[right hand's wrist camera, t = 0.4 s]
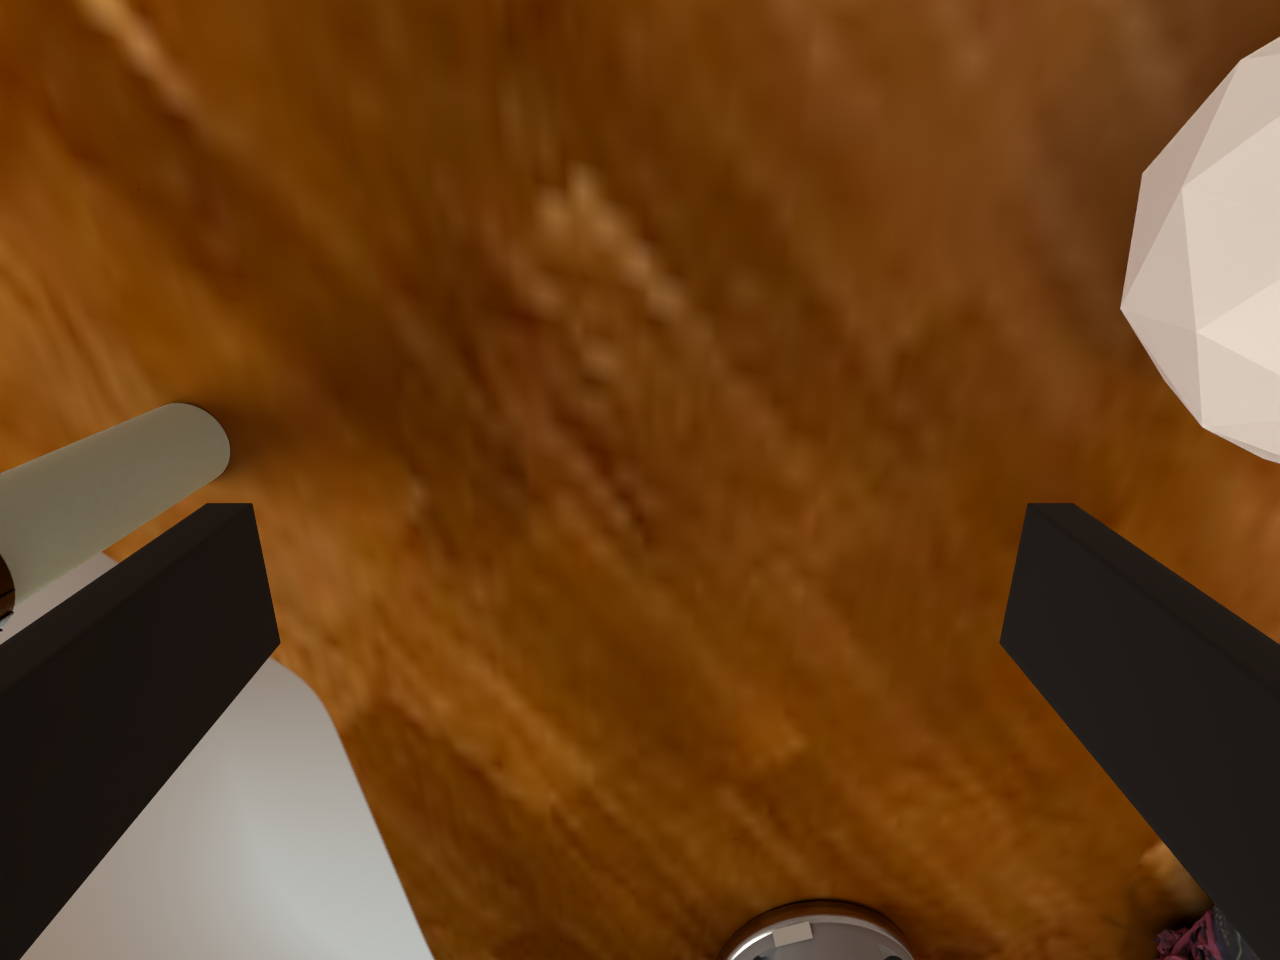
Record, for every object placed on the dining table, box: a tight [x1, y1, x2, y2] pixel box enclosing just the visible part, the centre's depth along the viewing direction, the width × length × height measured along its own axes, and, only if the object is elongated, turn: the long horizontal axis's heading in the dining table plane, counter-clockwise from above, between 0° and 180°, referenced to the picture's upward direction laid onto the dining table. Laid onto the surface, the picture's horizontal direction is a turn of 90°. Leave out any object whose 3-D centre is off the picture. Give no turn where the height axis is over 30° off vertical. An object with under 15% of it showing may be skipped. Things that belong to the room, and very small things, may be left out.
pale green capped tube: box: [0, 403, 230, 607], centre depth 33 cm, size 5×5×17 cm
